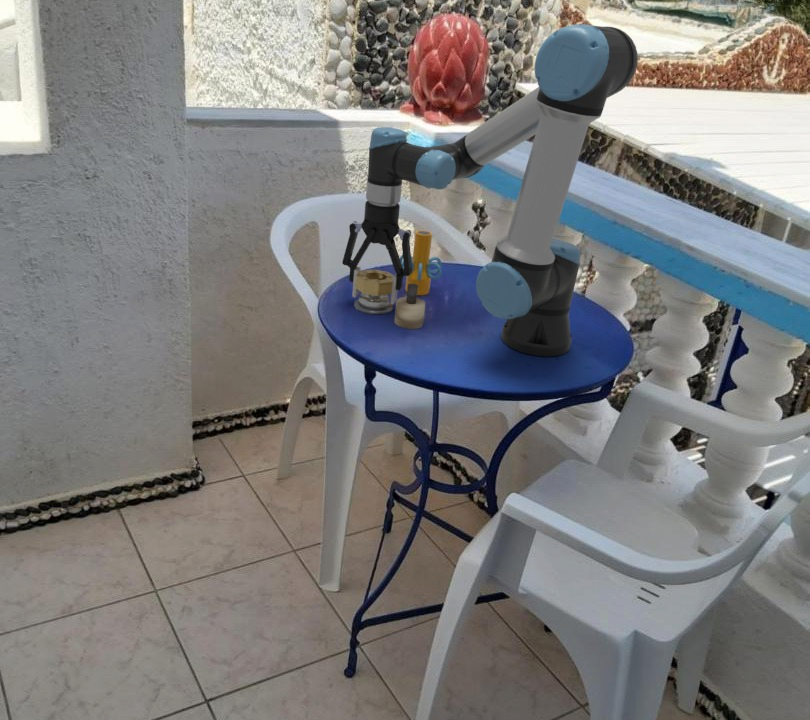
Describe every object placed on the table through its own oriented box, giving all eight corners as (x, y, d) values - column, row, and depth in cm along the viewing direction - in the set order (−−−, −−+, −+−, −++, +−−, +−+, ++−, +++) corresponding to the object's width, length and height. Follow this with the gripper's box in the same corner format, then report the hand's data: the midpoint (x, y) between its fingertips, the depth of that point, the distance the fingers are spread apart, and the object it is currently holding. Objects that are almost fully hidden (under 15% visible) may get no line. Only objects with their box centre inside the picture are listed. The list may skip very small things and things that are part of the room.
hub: (400, 310, 177) (403, 283, 174) (368, 317, 172) (370, 288, 169) (378, 297, 184) (380, 270, 181) (346, 302, 179) (348, 275, 176)
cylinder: (438, 302, 185) (446, 242, 178) (395, 298, 184) (401, 238, 178) (437, 285, 196) (445, 227, 189) (397, 280, 195) (402, 223, 189)
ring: (397, 285, 179) (398, 273, 178) (388, 297, 172) (389, 285, 170) (362, 279, 180) (363, 267, 179) (352, 291, 173) (353, 278, 172)
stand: (428, 326, 171) (433, 288, 167) (405, 330, 167) (410, 292, 164) (411, 315, 176) (415, 278, 172) (388, 320, 172) (392, 282, 168)
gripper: (433, 205, 169) (422, 301, 179) (341, 190, 172) (335, 285, 182) (426, 213, 162) (415, 312, 172) (331, 198, 166) (325, 296, 175)
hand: (374, 298), depth 177 cm, fingers closed on ring, 8 cm apart
